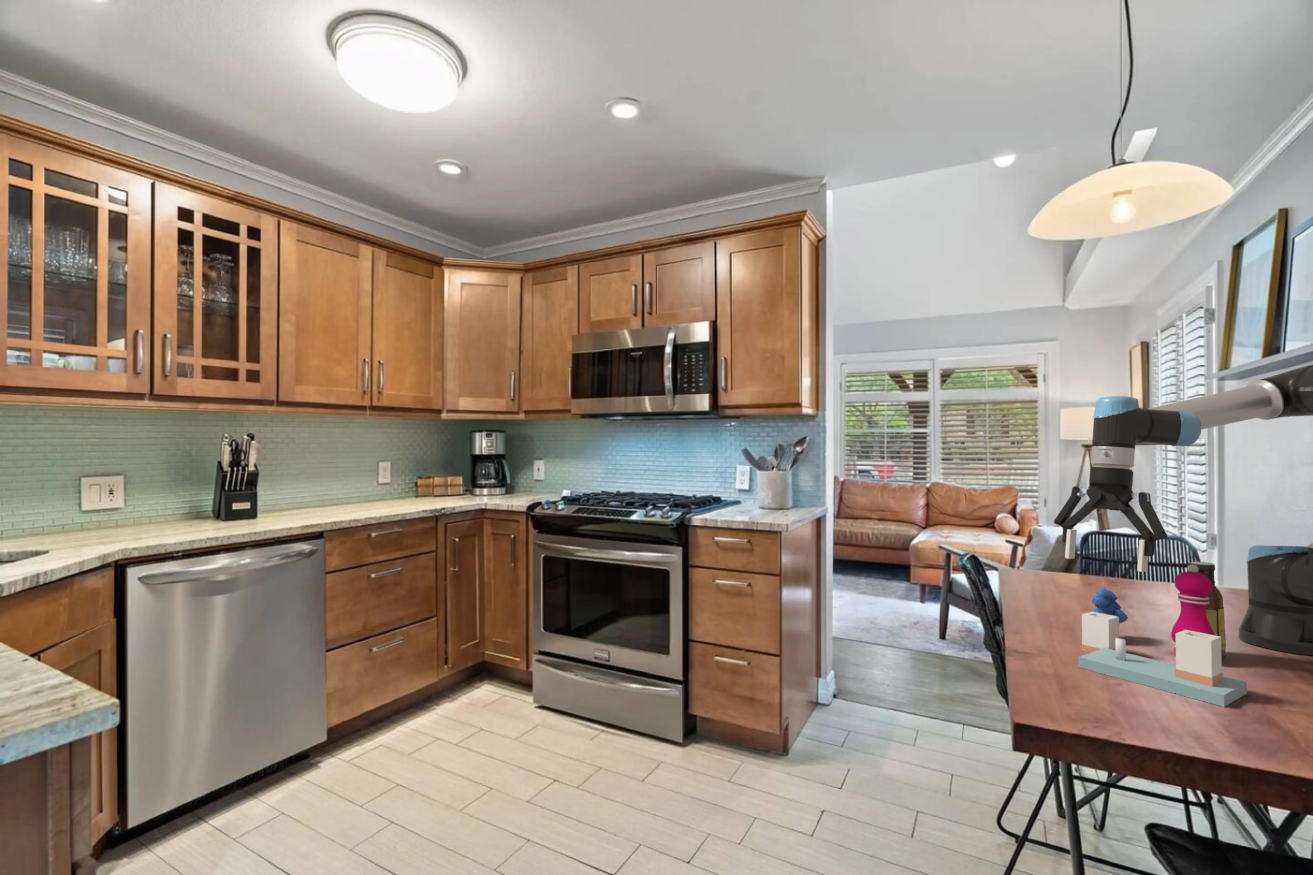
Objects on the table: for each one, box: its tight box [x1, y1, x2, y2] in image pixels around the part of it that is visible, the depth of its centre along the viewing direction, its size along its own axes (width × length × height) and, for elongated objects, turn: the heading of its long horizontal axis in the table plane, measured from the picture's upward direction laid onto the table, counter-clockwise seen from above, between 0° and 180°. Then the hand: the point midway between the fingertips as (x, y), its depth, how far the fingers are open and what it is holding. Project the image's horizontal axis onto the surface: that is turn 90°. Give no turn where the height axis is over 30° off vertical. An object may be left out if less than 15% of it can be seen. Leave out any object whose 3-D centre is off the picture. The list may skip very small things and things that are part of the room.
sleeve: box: [1080, 611, 1120, 654], centre depth 129 cm, size 5×5×8 cm
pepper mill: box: [1170, 564, 1215, 658], centre depth 126 cm, size 7×7×20 cm
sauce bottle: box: [1189, 561, 1227, 658], centre depth 130 cm, size 7×6×20 cm
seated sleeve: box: [1175, 630, 1224, 687], centre depth 109 cm, size 5×5×8 cm
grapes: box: [1090, 587, 1129, 625], centre depth 139 cm, size 12×7×12 cm, turn 123°
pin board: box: [1077, 637, 1248, 708], centre depth 114 cm, size 12×22×6 cm, turn 32°
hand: (1104, 564), depth 129 cm, fingers open, 13 cm apart
